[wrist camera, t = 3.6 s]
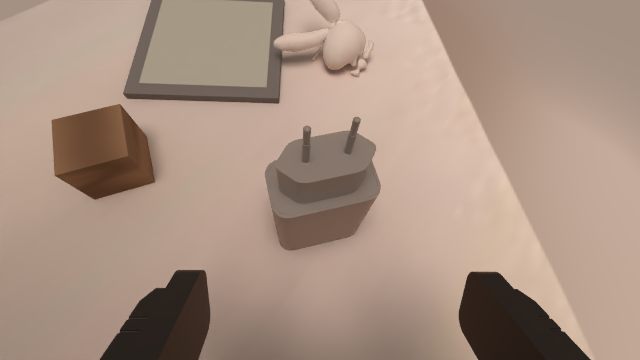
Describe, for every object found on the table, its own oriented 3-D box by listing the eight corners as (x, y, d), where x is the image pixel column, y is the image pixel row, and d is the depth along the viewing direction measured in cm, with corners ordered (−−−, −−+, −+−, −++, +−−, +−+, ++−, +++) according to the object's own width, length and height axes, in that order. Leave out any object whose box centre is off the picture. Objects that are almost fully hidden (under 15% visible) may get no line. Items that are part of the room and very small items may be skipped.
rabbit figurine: (352, 98, 27) (269, 40, 24) (340, 94, 30) (266, 44, 28) (393, 33, 26) (310, -35, 23) (375, 37, 29) (302, -21, 27)
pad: (127, 98, 25) (122, 92, 25) (157, -4, 30) (154, -11, 30) (278, 103, 26) (278, 97, 25) (284, 2, 31) (283, -5, 30)
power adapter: (273, 209, 22) (248, 100, 11) (346, 193, 23) (389, 77, 12) (282, 252, 21) (264, 178, 10) (359, 234, 22) (419, 146, 11)
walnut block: (95, 200, 22) (54, 175, 18) (90, 151, 23) (51, 119, 20) (155, 182, 23) (128, 155, 19) (147, 136, 24) (119, 103, 21)
